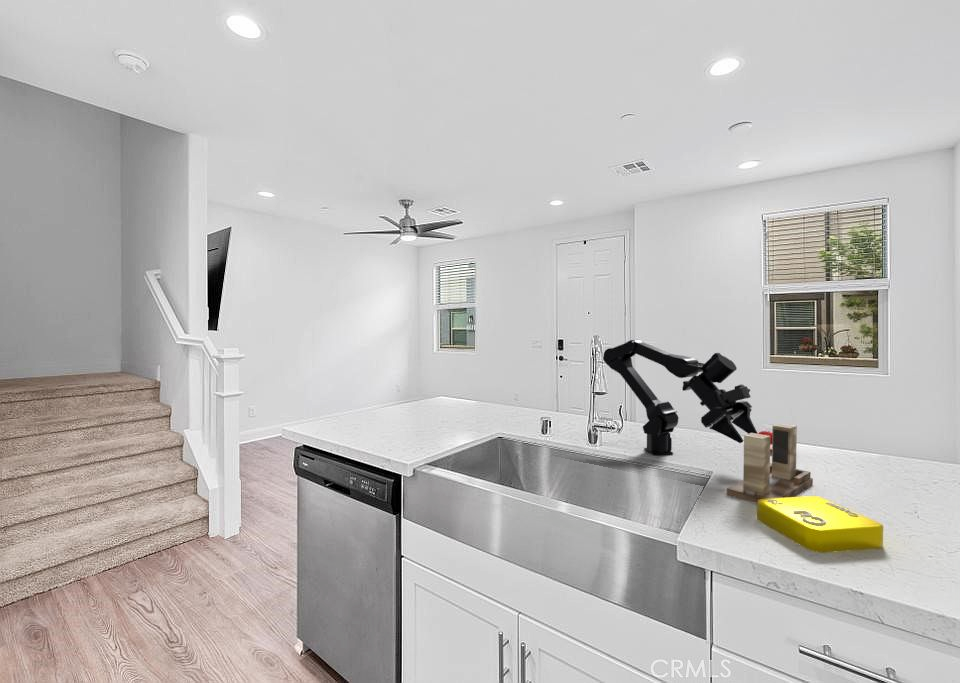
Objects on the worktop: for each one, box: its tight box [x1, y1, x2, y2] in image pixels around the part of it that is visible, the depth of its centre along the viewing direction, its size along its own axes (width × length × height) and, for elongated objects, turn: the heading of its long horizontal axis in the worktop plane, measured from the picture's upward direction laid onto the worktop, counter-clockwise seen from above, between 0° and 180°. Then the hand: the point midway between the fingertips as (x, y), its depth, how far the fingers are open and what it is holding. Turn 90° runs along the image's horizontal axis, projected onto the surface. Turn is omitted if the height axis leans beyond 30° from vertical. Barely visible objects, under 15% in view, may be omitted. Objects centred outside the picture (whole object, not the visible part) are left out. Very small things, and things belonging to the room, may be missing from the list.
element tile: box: [756, 495, 884, 553], centre depth 87 cm, size 15×15×5 cm
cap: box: [757, 430, 772, 446], centre depth 142 cm, size 8×6×6 cm
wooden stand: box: [726, 433, 814, 504], centre depth 109 cm, size 24×10×14 cm, turn 127°
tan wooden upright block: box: [771, 422, 798, 480], centre depth 113 cm, size 5×4×13 cm
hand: (749, 439), depth 119 cm, fingers open, 9 cm apart
